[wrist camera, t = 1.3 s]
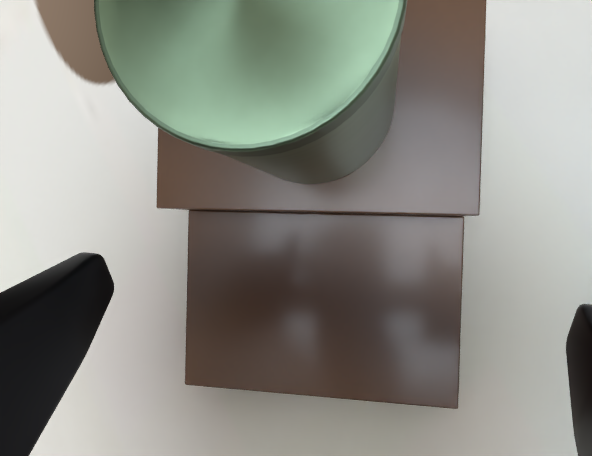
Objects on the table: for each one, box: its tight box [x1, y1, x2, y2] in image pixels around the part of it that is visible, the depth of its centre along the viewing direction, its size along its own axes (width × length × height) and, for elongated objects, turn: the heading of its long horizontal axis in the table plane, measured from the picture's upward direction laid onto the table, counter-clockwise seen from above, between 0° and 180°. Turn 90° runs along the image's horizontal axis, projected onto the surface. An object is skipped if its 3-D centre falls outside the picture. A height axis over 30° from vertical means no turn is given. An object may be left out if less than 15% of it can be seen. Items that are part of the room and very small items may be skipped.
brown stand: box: [157, 0, 486, 409], centre depth 21 cm, size 16×12×5 cm
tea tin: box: [94, 0, 407, 184], centre depth 14 cm, size 6×6×9 cm
